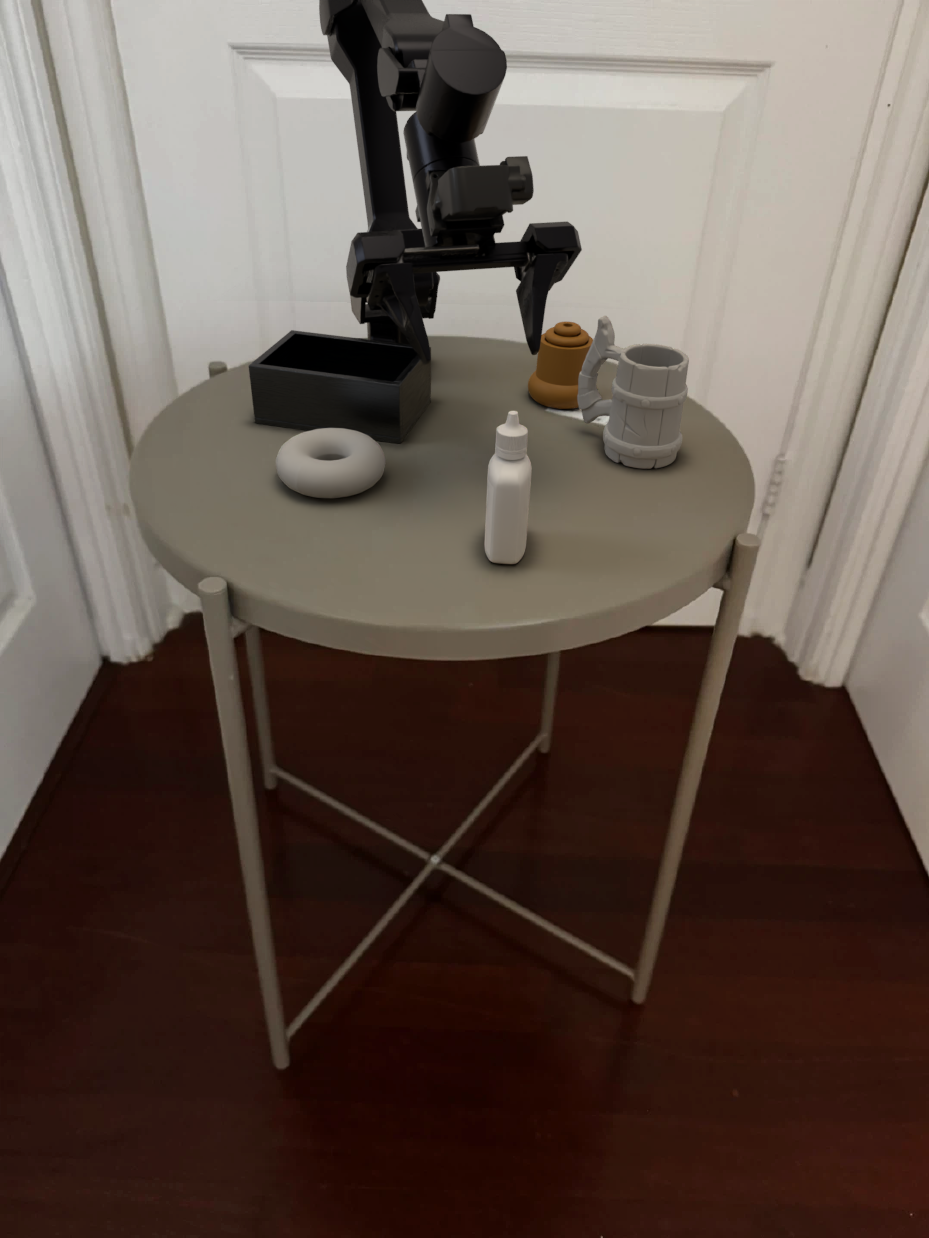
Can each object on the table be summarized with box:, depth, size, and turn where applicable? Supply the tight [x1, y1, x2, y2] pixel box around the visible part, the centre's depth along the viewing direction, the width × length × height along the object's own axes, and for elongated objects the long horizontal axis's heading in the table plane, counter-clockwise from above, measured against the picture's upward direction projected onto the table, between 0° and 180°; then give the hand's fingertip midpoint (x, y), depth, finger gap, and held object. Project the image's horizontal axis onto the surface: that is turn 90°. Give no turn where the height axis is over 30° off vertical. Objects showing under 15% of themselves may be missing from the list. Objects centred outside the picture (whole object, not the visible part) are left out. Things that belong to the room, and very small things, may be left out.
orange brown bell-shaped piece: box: [527, 321, 598, 410], centre depth 100 cm, size 8×8×8 cm
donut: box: [274, 428, 387, 499], centre depth 86 cm, size 10×4×10 cm
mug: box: [577, 315, 690, 470], centre depth 90 cm, size 8×12×12 cm, turn 48°
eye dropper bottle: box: [484, 410, 533, 565], centre depth 74 cm, size 4×6×12 cm
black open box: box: [248, 329, 432, 445], centre depth 96 cm, size 11×16×6 cm
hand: (482, 357), depth 76 cm, fingers open, 9 cm apart
